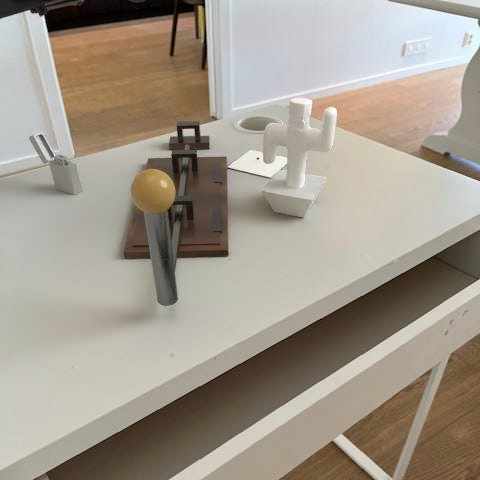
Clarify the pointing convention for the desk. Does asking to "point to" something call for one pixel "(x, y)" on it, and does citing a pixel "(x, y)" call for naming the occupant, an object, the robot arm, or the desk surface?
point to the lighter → (57, 165)
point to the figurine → (296, 157)
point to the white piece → (258, 164)
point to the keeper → (189, 137)
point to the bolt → (161, 225)
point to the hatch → (190, 207)
